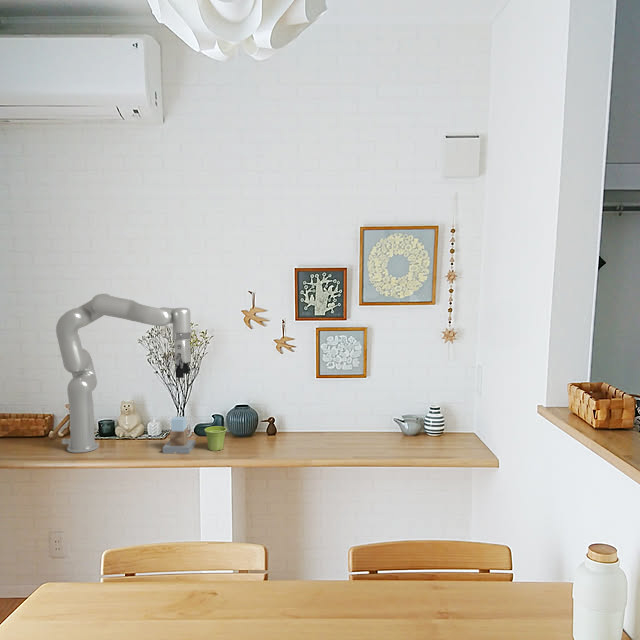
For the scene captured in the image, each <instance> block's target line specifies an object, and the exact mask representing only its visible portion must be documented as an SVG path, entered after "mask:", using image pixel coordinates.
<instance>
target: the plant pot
mask: <svg viewBox="0 0 640 640" xmlns="http://www.w3.org/2000/svg"><path fill="white" fill-rule="evenodd" d="M227 430H228V429H227V427H225V426H220V425H219V426H218V425H215V426H208V427H206V428H204V432H205V434H206V440H207V447H208V450H209V451H211V450H212V451H211V452H217V451H222V450H223V449H224V445H225V444H224V443H225V435H226V433H227Z"/></svg>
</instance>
